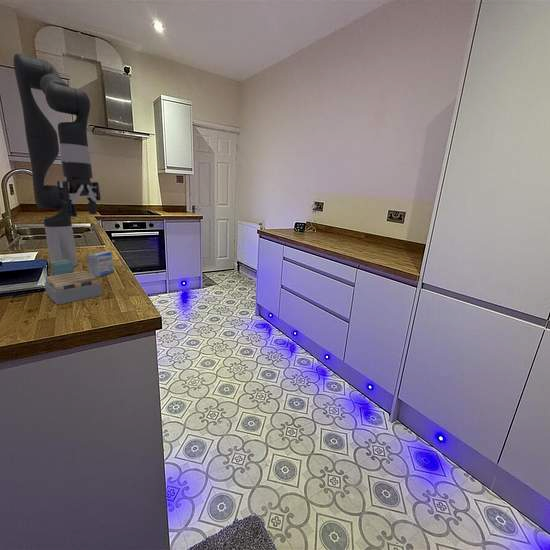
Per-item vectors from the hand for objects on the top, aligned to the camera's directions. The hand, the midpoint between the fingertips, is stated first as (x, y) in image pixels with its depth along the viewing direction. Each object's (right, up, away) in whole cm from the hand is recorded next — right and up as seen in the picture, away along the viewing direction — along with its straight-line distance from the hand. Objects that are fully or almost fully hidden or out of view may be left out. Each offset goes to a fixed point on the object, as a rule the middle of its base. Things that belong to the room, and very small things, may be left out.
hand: (83, 215), depth 92 cm
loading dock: (-3, -26, 0) cm, 26 cm away
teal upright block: (-13, -23, +10) cm, 28 cm away
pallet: (-3, -22, -1) cm, 22 cm away
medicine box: (-8, -19, +23) cm, 31 cm away
